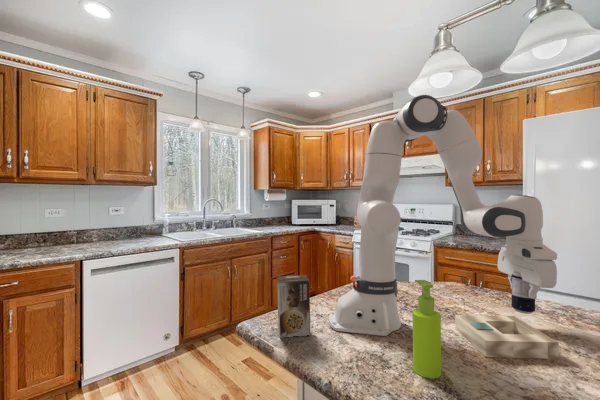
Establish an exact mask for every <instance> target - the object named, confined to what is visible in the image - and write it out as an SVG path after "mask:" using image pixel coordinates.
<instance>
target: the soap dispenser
mask: <svg viewBox="0 0 600 400" xmlns="http://www.w3.org/2000/svg"><path fill="white" fill-rule="evenodd" d="M414 283H417V284H419V285H420V286H421V294H420V295H418V296H417V298H418V299H417V308H415V309H413V310H412V369H413V371H414V372H415V373H416V374H417V375H419V376H421V377H423V378H426V379H437V378H440V377H441V376H442V327H441V326H442V322H441V321H442V318H441V316H442V315H441V314H440V312H438V311H436V310H435V298H434V297H433V296H431V289H433V288H434V284H432V283H431V282H430V281H428V280H425V279H415V280H414Z"/></svg>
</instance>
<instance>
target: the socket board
mask: <svg viewBox="0 0 600 400" xmlns="http://www.w3.org/2000/svg"><path fill="white" fill-rule="evenodd" d="M454 326H455V327H454V328H455V330H456V331H458V332H459V333H460V335H461V336H463V338H465V339H466V340H467V341H468V342H469V343H470V344H471V345H472V346H473V347H474V348H476V349H477V351H479V352H480V353H481V354H482V355H483V356H484V357H485V358H504V359H505V358H506V359H507V358H508V359H509V358H510V359H511V358H512V359H543V360H544V359H547V360H550V359H552V360H560V352H559V349H560V347H559V346H560V343H559V341H557V340H556V339H554V338H552V337H550V336H549V335H548V334H546V333H543V332H541V331H540V330H539V329H537V328H535V327H533V326H532V325H530V324H528V323H527V322H525V321H523V320H522V319H520V318H519V317H517V316H515V315H486V314H485V315H475V314H469V315H468V314H455V315H454Z"/></svg>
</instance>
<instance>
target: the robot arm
mask: <svg viewBox="0 0 600 400" xmlns="http://www.w3.org/2000/svg"><path fill="white" fill-rule="evenodd" d="M369 133H370V134H369V136H368V141H367V144H366V152H365V157H364V158H365V160H364V165H363V167H364V168H363V176H362V184H361V187H360V191H359V192H360V193H359V198H358V203H357V204H358V205H357V209H356V210H357V211H356V221H357V222H358V225H359V226H360V245H359V251H358V256H359V257H358V263H359V264H358V269H359V270H358V271H359V274H358V276H356V275H351V277H349V278H350V282H351V283H352V288H351V289H350V290H349V291H348V292H346V293H344V294H343V295H341V296H340V297H339V298H338V299H337V303H336V307H335V310H332V311H331V312H330V313H329V316H328V323H329V326H330V327H331V328H332V329H333V331H337V332H343V333H344V332H345V333H352V334H353V333H354V334H364V335H371V336H372V335H373V336H382V337H387V336H389V335H390V334H391V332H395V331H397V330H399V329H400V328H401V327H402V322H401V318H400V314H399V309H398V304H397V297H398V282H397V278H396V251H397V243H398V237H399V229H400V228H399V227H400V225H401V220H402V219H401V218H402V217H401V214H400V211H399V210H398V208H397V207H396V206H395V204H394V203H393V201H394V198H395V194H396V190H397V187H399V183H400V177H401V176H400V174H401V167H402V160H403V159H402V157H403V149H404V148H403V147H404V145H405V143H407V142H408V143H409V142H413V141H415V140H417V139H419V138H421V137H427V138H428V139H430V140H431V141H432V142H433V144H434V146H435V148H436V150H437V153H438V155H439V157H440V160H441V161H442V164H443V166H444V168H445V170H446V172H447V175H448V180H449V183H450V185H451V188H452V190H453V193H454V196H455V197H456V200H457V203H458V207H459V209H460V210H459V211H460V215H459V217H460V223H461V226H462V227H463V229H464V230H465V231H466V232H467V233H469V234H471V235H475V236H484V237H492V238H497V239H499V238H505V244H503V245H502V247H500V251H499V252H498V257H497V269H498V271H499V272H501V273H503V274H506V275H507V278H508V281H509V284H510V290H512V273H513V272H514V271H515V272H519V273H521V277H522V280H523V281H526V282H528V283H529V286H530V290H529V291H527V297H529V298H531V299H535V300H536V299H537V297H538V296H537V295H538V294H537V293H539V291H540V289H554V288H555V287H556V285H557V279H558V277H557V275H558V271H557V270H558V269H557V267H558V266H557V263H556V262H555V261H556V260H557V259H558V254H557V252H556V251H554V250H553V249H551V248H550V247H548V246H547V245H546V244H544V241H543V239H544V238H543V236H542V230H543V226H544V214H543V213H544V211H543V207H542V206H543V205H542V202H541V200H539V198H537V197H535V196H531V195H523V194H512V195H509V196H508V197H507V198H506V199H504V200H503V201H502V200H501V201H500V202H498V203H494V204H492V205H486V204H484V203H483V202H482V201H481V199H480V197H479V193H478V191H477V189H476V187H475V184H474V180H473V175H474V171H475V170H476V169H477V168H478V166H479V165H480V163H481V161H482V159H483V152H482V146H481V144H480V142H479V140H478V138H477V136H476V134H475V132H474V130H473V129H472V126H471V125H470V124H469V122H468V121H467V119H466V118H465V117H464V115H463V114H462V113H461V112H460V111H459V110H456V109H447V107H445V106H444V105H442V103H441V102H440V101H439V100H438V99H437V98H436V97H434V96H432V95H429V94H419V95H417V96H415V97H413V98H411V99H410V100H408V101H407V102H406V104H405V105H404V106H402V107H401V108H400V109H399V110H398V112H397V114H396V115H395V116H394V118H393V119H392V120H383V121H382V120H381V121H378V122H377V123H375V124H374V125H373V126H372V128H371V131H370V132H369ZM513 270H514V271H513Z"/></svg>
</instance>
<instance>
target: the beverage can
mask: <svg viewBox="0 0 600 400" xmlns="http://www.w3.org/2000/svg"><path fill="white" fill-rule="evenodd" d="M513 271H514V270H513ZM529 290H530V286H529V283H528V282H526V281H523V280H522V277H521V273H519V272H515V271H514V272H513V273H512V289H511V305H510V306H511V308H512V309H513V310H514V311H515V312H518V313H520V314H525V315H531V314H533V313H534V312H535V311H536V299H531V298H529V297H527V291H529Z"/></svg>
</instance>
